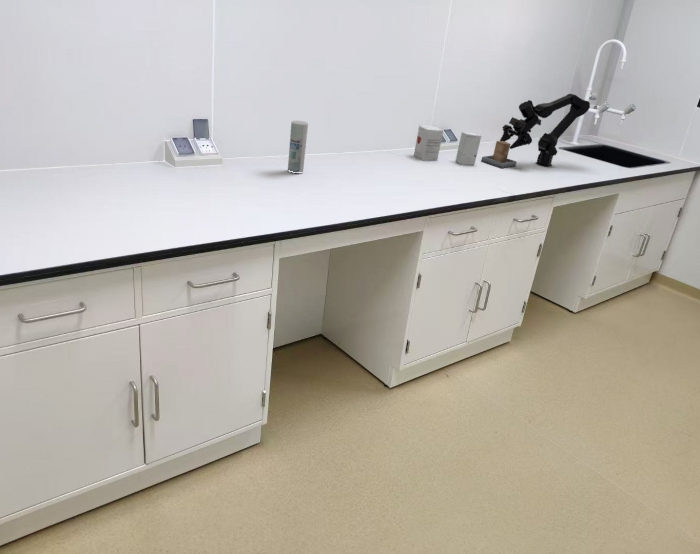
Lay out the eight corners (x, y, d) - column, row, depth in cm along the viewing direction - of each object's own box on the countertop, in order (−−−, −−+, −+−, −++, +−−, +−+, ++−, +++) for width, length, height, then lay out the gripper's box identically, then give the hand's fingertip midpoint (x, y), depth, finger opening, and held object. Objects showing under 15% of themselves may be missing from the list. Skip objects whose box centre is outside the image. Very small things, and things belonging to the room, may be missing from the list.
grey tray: (515, 166, 296) (516, 161, 295) (501, 168, 288) (502, 163, 287) (495, 159, 304) (496, 154, 303) (481, 161, 296) (482, 156, 295)
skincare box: (460, 164, 284) (466, 134, 278) (454, 161, 289) (461, 131, 283) (475, 165, 287) (482, 135, 281) (469, 162, 292) (476, 132, 286)
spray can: (284, 171, 235) (288, 121, 227) (293, 168, 241) (297, 119, 232) (297, 175, 233) (302, 125, 224) (306, 172, 238) (311, 123, 230)
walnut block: (499, 160, 299) (504, 141, 294) (505, 163, 295) (510, 143, 290) (491, 160, 297) (496, 141, 292) (497, 163, 293) (502, 143, 288)
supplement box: (413, 155, 289) (418, 125, 283) (428, 155, 293) (434, 125, 287) (422, 160, 282) (428, 129, 276) (437, 160, 286) (443, 130, 280)
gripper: (509, 108, 295) (487, 129, 295) (533, 116, 280) (509, 139, 280) (518, 124, 302) (496, 145, 302) (542, 133, 287) (518, 155, 287)
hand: (504, 145), depth 293 cm, fingers open, 9 cm apart
